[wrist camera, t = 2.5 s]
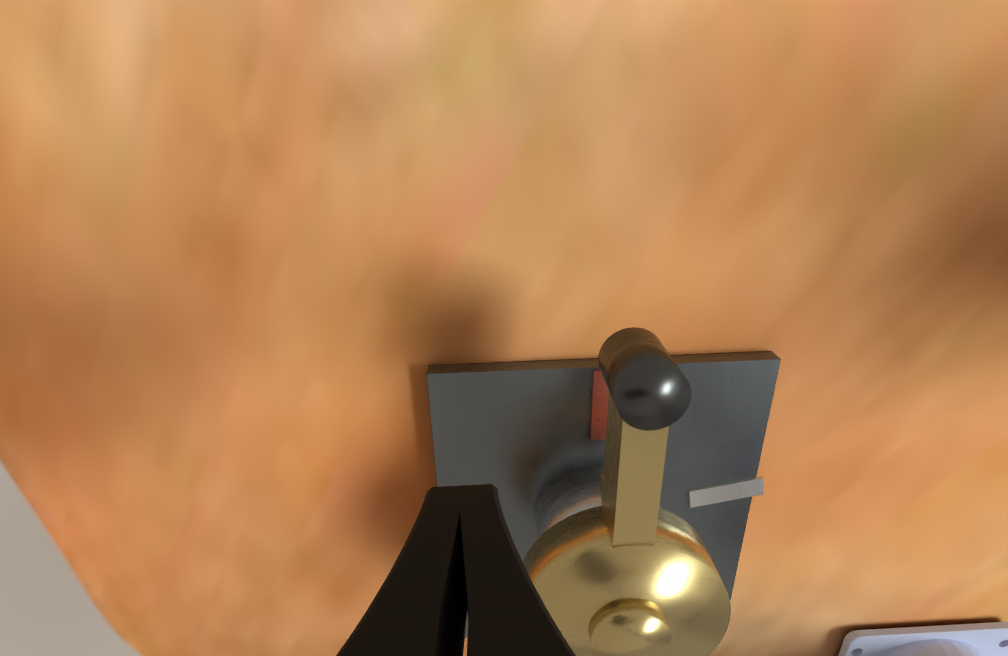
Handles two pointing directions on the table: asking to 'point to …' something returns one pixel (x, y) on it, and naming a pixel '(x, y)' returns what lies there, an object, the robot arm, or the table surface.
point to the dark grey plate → (602, 442)
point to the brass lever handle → (632, 529)
